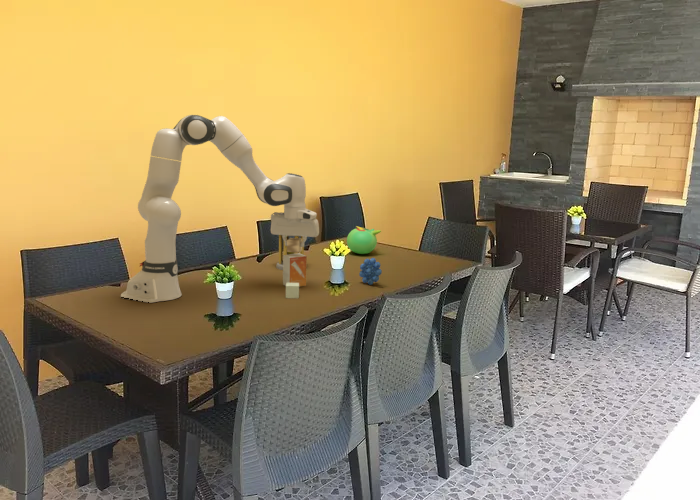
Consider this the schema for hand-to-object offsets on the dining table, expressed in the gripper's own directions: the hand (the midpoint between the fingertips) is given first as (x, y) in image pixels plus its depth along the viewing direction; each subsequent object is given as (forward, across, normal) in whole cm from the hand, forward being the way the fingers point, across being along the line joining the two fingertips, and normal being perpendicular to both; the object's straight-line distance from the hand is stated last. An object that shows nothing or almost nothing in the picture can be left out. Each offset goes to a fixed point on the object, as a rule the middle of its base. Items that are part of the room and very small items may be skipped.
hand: (294, 246), depth 241 cm
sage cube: (+17, +4, -16) cm, 24 cm away
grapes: (+17, +31, +11) cm, 37 cm away
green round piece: (+17, +16, +72) cm, 76 cm away
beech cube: (+2, 0, 0) cm, 2 cm away
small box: (+17, 0, 0) cm, 17 cm away
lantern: (+17, -11, +31) cm, 37 cm away
